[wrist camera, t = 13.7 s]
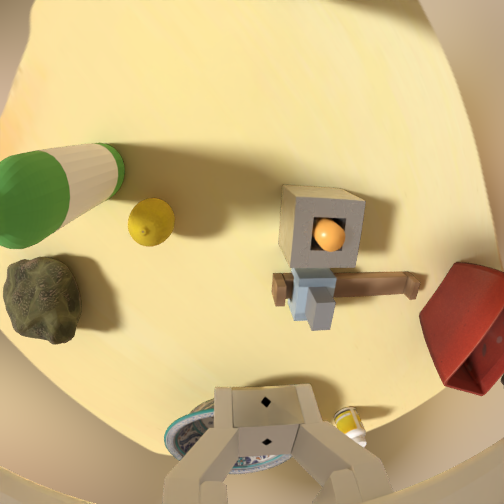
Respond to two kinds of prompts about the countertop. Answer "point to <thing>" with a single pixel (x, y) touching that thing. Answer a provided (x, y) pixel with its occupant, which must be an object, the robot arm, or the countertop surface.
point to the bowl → (192, 429)
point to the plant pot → (467, 327)
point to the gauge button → (328, 234)
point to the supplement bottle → (351, 424)
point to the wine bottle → (54, 189)
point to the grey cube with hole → (301, 224)
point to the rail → (353, 285)
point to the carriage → (313, 297)
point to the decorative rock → (42, 299)
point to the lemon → (151, 222)
